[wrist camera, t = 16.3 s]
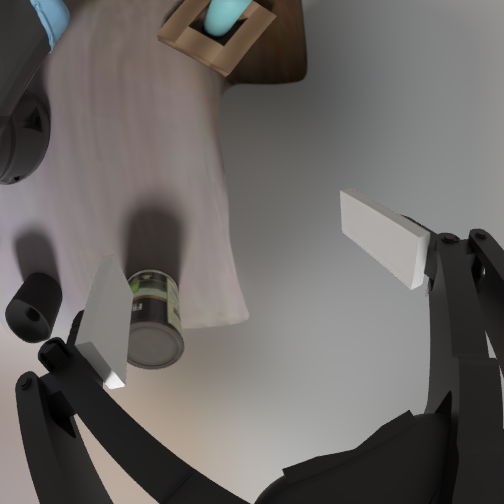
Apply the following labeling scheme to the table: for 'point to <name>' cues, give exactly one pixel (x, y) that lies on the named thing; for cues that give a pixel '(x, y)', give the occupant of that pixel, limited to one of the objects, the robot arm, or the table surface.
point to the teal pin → (222, 17)
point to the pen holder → (34, 308)
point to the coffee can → (154, 321)
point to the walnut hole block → (209, 50)
